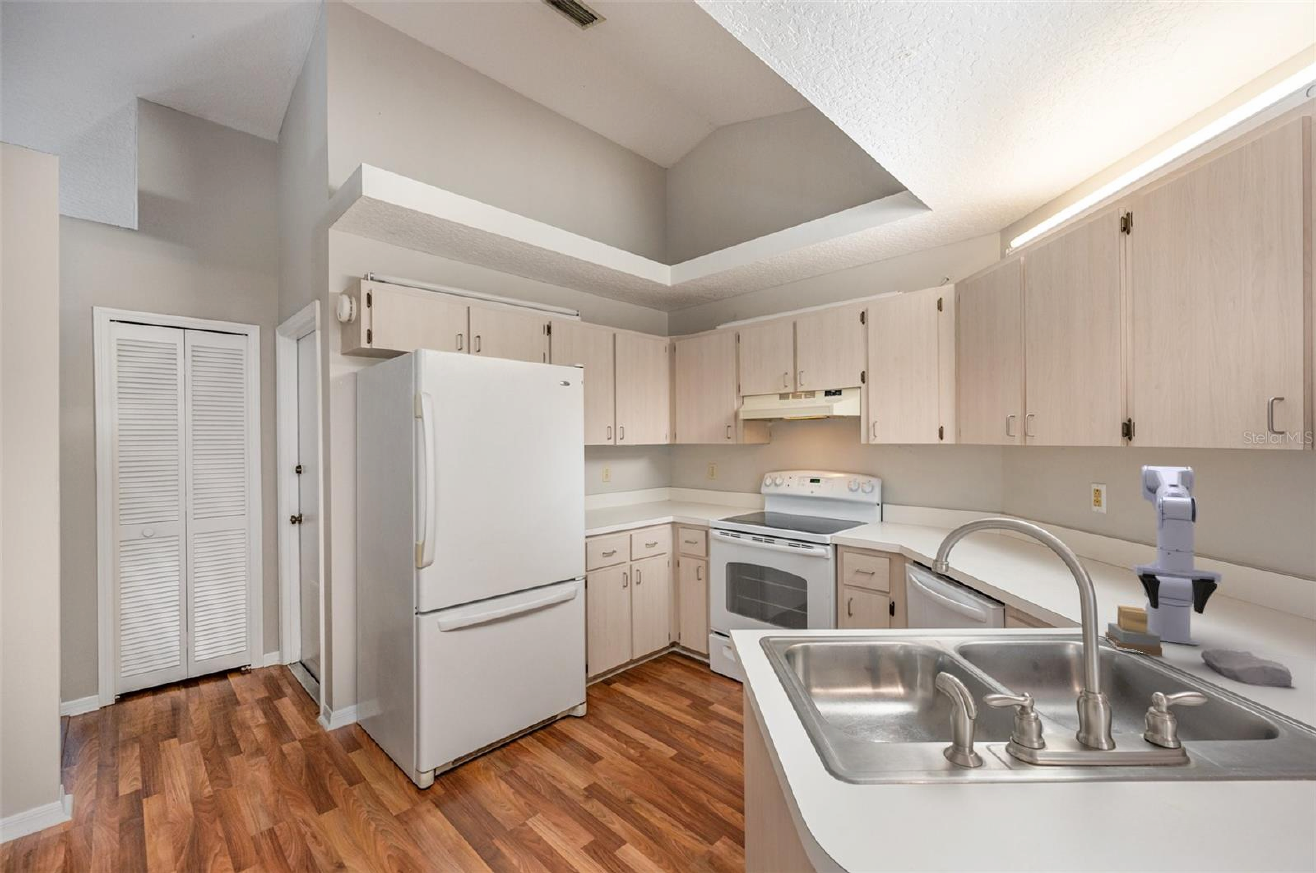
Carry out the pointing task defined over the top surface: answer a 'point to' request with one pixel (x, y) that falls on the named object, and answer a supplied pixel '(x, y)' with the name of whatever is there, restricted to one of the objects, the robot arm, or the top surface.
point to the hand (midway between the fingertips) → (1176, 610)
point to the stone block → (1247, 667)
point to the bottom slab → (1136, 646)
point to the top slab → (1134, 636)
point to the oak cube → (1132, 618)
